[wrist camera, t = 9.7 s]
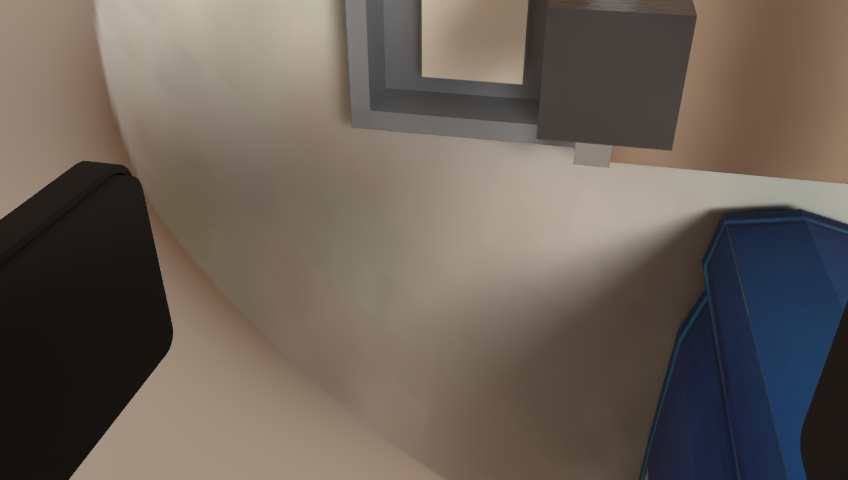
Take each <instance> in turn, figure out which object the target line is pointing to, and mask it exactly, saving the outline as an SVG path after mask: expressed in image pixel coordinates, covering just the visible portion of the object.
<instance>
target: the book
mask: <svg viewBox="0 0 848 480" xmlns="http://www.w3.org/2000/svg"><path fill="white" fill-rule="evenodd" d="M702 265H703V272H704V279H705V286H706V289H705V291H704V292H703V294H702V295H701V297H700V298H699V300H698V301H697V303H696V304H695V306H694V307H693V309H692V310H691V312H690V313H689V314H688V316H687V317H686V319H685V320H684V322H683V323H682V325H681V326H680V328H679V329H678V333H677V337H676V340H675V344H674V348H673V351H672V355H671V358H670V362H669V366H668V369H667V373H666V377H665V380H664V384H663V387H662V391H661V395H660V398H659V402H658V406H657V409H656V413H655V416H654V420H653V424H652V427H651V431H650V435H649V439H648V444H647V448H646V452H645V456H644V461H643V465H642V469H641V474H640V478H639V480H807V478H806V474H805V470H804V466H803V462H802V457H801V451H800V437H801V430H802V426H803V423H804V420H805V417H806V414H807V412H808V409H809V406H810V403H811V401H812V398H813V395H814V392H815V389H816V387H817V384H818V381H819V378H820V376H821V373H822V370H823V367H824V364H825V362H826V359H827V356H828V353H829V351H830V348H831V345H832V342H833V339H834V337H835V334H836V331H837V328H838V326H839V323H840V320H841V317H842V314H843V312H844V309H845V306H846V303H847V301H848V225H847V224H844V223H841V222H838V221H835V220H832V219H829V218H825V217H822V216H819V215H816V214H813V213H810V212H807V211H804V210H801V209H799V210H782V211H765V212H748V213H732V214H723V216H722V218H721V220H720V222H719V225H718V227H717V229H716V231H715V233H714V235H713V238H712V240H711V242H710V244H709V246H708V248H707V251H706V253H705V255H704V257H703V259H702Z"/></svg>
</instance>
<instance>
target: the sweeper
mask: <svg viewBox="0 0 848 480" xmlns="http://www.w3.org/2000/svg"><path fill="white" fill-rule="evenodd" d="M696 20H697V14H696V10H695V7H694V3H693V0H549V3H548V7H547V18H546V30H545V42H544V54H543V65H542V77H541V89H540V101H539V113H538V125H537V137H536V139H544V140H555V141H566V142H576V145H575V154H574V163H573V164H576V165H587V166H598V167H608V168H609V164H610V157H611V150H612V146H623V147H634V148H646V149H657V150H668V151H672V147H673V142H674V136H675V131H676V126H677V121H678V115H679V110H680V105H681V99H682V94H683V89H684V83H685V78H686V73H687V67H688V62H689V57H690V51H691V46H692V41H693V35H694V30H695V25H696Z"/></svg>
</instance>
